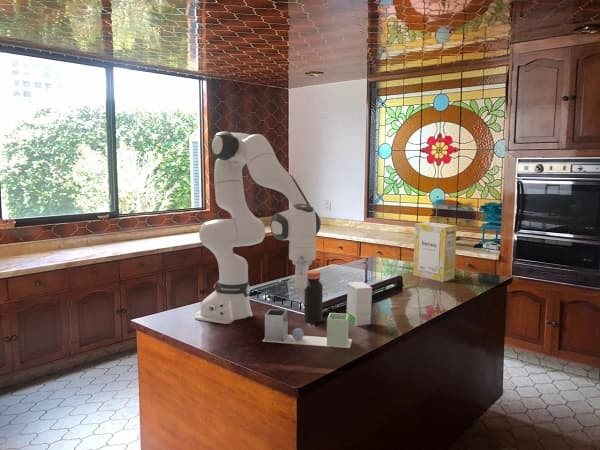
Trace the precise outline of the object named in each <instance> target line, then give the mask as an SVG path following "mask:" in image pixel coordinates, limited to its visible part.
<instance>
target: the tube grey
mask: <svg viewBox="0 0 600 450" xmlns="http://www.w3.org/2000/svg"><path fill="white" fill-rule="evenodd" d="M288 311H289V310H288V309H275V308H274V309H272V308H269V309H268V311H266V313H265V314H264V338H265V341H275V342H274V343H277V342H284V341H285V339H286V337H287V335H289V334H288V332H289V328H288V317H289V316H288Z"/></svg>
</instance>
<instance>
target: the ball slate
mask: <svg viewBox="0 0 600 450" xmlns="http://www.w3.org/2000/svg"><path fill="white" fill-rule="evenodd" d="M291 335H292V336H293V338H294V339H296V340H300V339H302V338H303V336H305V333H304V330H303V329H302V328H301V327H296V328H294V329H293V330H292V333H291Z"/></svg>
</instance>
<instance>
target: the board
mask: <svg viewBox="0 0 600 450" xmlns="http://www.w3.org/2000/svg"><path fill="white" fill-rule="evenodd" d="M352 341H353V339H352V338H348V342H347V346H346V347H341V346H328V345H327V336H324V337H323V336H315V335H314V336H311V335H304V336H303V338H302V339H300V340H296V339H294V338H293V336H292V334H288V335H287V337H286V339H285V341H284V342H275V341H265V337H264V338H263V339H262V342H266V343H267V342H268V343H279V344H290V345H291V344H293V345H305V346H317V347H318V346H320V347H331V348H332V347H333V348H345V349H350V348H351V345H352Z"/></svg>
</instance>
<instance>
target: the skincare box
mask: <svg viewBox="0 0 600 450" xmlns="http://www.w3.org/2000/svg"><path fill="white" fill-rule="evenodd" d="M346 292H347V294H346V295H347V296H346V297H347V299H346V313H345V314H348V324H352V325H354V326H355V327H357V326H366V325H367V326H368V325H371V314H372V300H373V299H372V296H373V287H372V286H370V285H369V284H368V283H365V282H363V281H353V282H352V281H351V282H347V291H346Z"/></svg>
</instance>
